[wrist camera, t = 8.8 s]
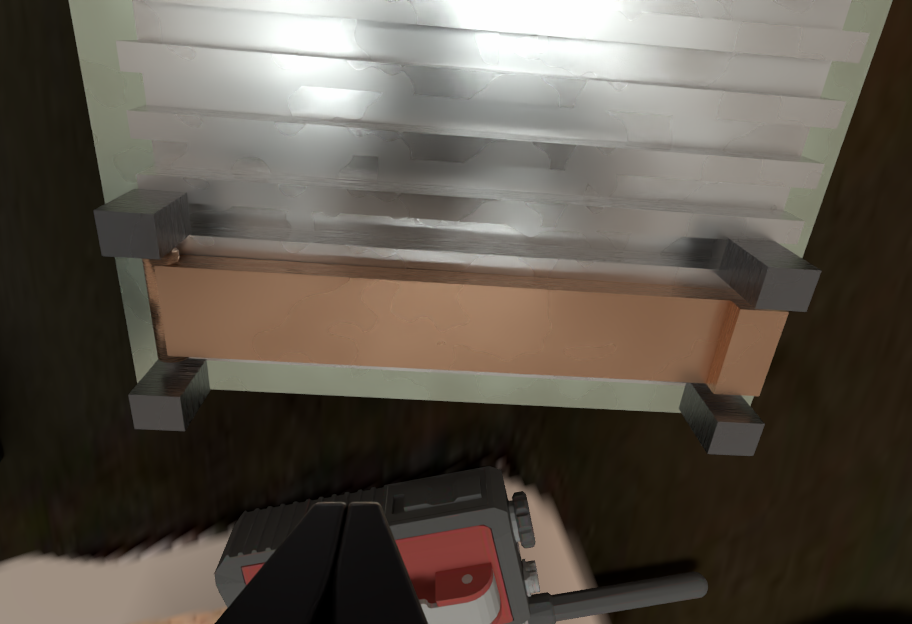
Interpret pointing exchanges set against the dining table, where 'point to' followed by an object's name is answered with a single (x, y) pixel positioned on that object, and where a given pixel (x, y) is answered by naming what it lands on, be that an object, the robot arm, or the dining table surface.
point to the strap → (458, 321)
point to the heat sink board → (470, 162)
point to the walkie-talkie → (454, 553)
